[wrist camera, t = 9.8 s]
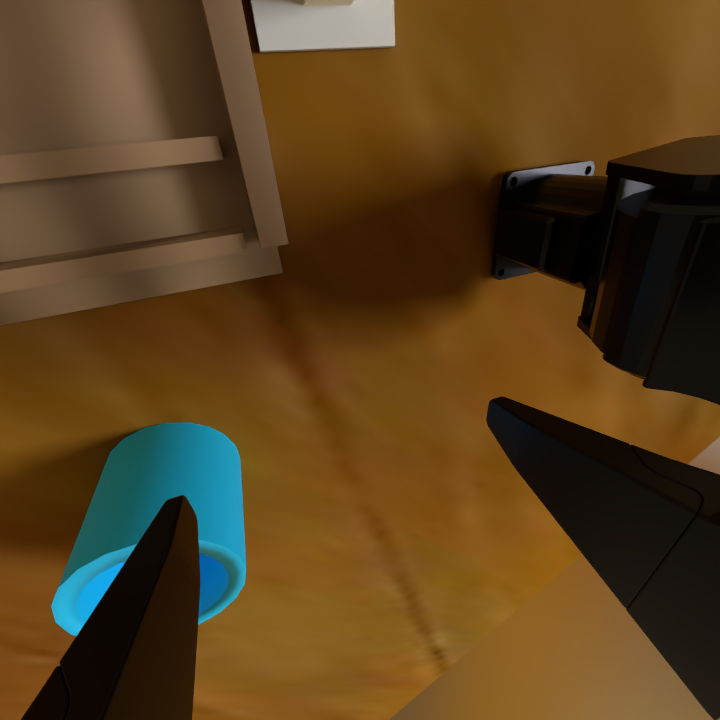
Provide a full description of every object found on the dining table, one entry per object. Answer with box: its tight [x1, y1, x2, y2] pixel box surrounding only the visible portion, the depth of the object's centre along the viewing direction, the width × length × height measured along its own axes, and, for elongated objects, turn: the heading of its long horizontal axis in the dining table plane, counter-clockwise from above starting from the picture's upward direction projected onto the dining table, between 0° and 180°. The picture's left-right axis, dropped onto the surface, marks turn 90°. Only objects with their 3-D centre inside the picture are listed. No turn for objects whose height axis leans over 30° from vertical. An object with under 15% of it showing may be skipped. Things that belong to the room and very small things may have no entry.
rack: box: [0, 0, 289, 326], centre depth 11 cm, size 14×18×3 cm
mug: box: [51, 422, 246, 636], centre depth 21 cm, size 12×8×8 cm
